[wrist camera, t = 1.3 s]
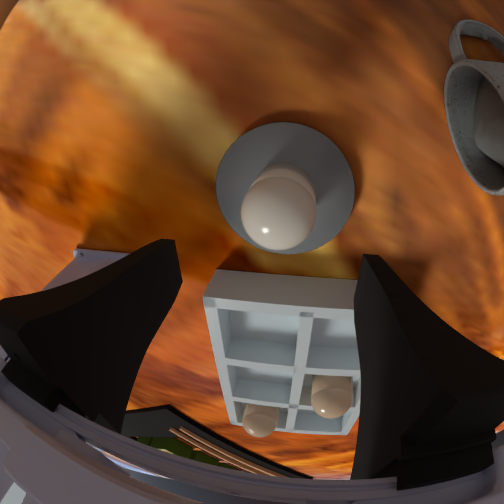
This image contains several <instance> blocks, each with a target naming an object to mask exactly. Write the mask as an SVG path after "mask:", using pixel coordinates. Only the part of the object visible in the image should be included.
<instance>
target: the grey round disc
mask: <svg viewBox="0 0 504 504" xmlns="http://www.w3.org/2000/svg"><path fill="white" fill-rule="evenodd" d="M276 163H290V164H294V165H296V166H298V167H300V168H302V169H303V170H304V171H306V172H307V173H308V175H309V176H310V177H311V179H312V181H313V183H314V186H315V191H316V219H315V224H314V227H313V229H312V231H311V233H310V234H309V236H308V237H307V238H306V239H305V240H304V241H303V242H302V243H300V244H299V245H297V246H295V247H293V248H290V249H287V250H270V249H267V248H264V247H262V246H260V245H258V244H257V243H255V242H254V241H253V240H252V239H251V238H250V237H249V235H248V234H247V233H246V231H245V229H244V227H243V224H242V220H241V205H242V201H243V199H244V196H245V194H246V193H247V191H248V190H249V188H250V187H251V185H252V184H253V182H254V181H255V179H256V178H257V176H258V175H259V173H260V172H261V171H262V170H263V169H265V168H266V167H268V166H270V165H272V164H276ZM216 194H217V200H218V204H219V207H220V209H221V212H222V214H223V216H224V218H225V219H226V221H227V223H228V224H229V225H230V227H231V228H232V229H233V230H234V231H235V232H236V233H237V234H238V235H239V236H240V237H241V238H243V239H244V240H245V241H247V242H248V243H250V244H252V245H254V246H256V247H258V248H260V249H263V250H265V251H269V252H273V253H279V254H298V253H304V252H308V251H311V250H314V249H316V248H319V247H321V246H323V245H324V244H326V243H327V242H329V241H330V240H331V239H333V238H334V237H335V236H336V235H337V234H338V233H339V232H340V231H341V229H342V228H343V227H344V225H345V224H346V222H347V220H348V218H349V216H350V214H351V211H352V208H353V203H354V197H355V187H354V179H353V175H352V171H351V169H350V166H349V164H348V162H347V160H346V158H345V157H344V155H343V153H342V152H341V150H340V149H339V148H338V146H337V145H336V144H335V143H334V142H333V141H332V140H331V139H330V138H329V137H327V136H326V135H324V134H323V133H322V132H320V131H318V130H316V129H314V128H312V127H310V126H307V125H304V124H300V123H295V122H273V123H268V124H264V125H261V126H258V127H256V128H254V129H252V130H250V131H248V132H247V133H245V134H244V135H242V136H241V137H239V138H238V139H237V140H236V141H235V142H234V143H233V144H232V145H231V146H230V147H229V149H228V150H227V151H226V153H225V155H224V156H223V158H222V160H221V163H220V165H219V168H218V172H217V177H216Z"/></svg>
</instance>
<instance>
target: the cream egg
mask: <svg viewBox="0 0 504 504" xmlns="http://www.w3.org/2000/svg"><path fill="white" fill-rule="evenodd" d="M315 219H316V191H315V186H314V183H313V181H312V179H311V177H310V176H309V175H308V173H307V172H306V171H304V170H303V169H302V168H300V167H298V166H296V165H294V164H290V163H276V164H272V165H270V166H268V167H266V168H265V169H263V170H262V171H261V172H260V173H259V175H258V176H257V178H256V179H255V181H254V182H253V184H252V185H251V187H250V188H249V190H248V191H247V193H246V194H245V196H244V199H243V201H242V205H241V220H242V224H243V227H244V229H245V231H246V233H247V234H248V235H249V237H250V238H251V239H252V240H253V241H254V242H255V243H257V244H258V245H260V246H262V247H264V248H267V249H270V250H287V249H290V248H293V247H295V246H297V245H299V244H300V243H302V242H303V241H304V240H305V239H306V238H307V237H308V236H309V234H310V233H311V231H312V229H313V227H314V224H315Z"/></svg>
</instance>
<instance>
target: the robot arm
mask: <svg viewBox="0 0 504 504" xmlns="http://www.w3.org/2000/svg"><path fill="white" fill-rule="evenodd" d="M73 254H74V257H75V259H74V260H73V261H72V262H71V263H70V264H68V265H67V266H66V267H65V268H64V269H63V270H62V271H61V272H60V273H59V274H58V275H57V276H56V277H55V278H54V279H53V280H52V281H50V282H49V283H48V284H47V285H46V286H45V287H44V288H43V290H42V291H40V292H36V293H32V294H27V295H22V296H16V297H9V298H4V299H2V300H0V502H1V500H2V499H3V498H4V496H5V494H6V493H7V491H8V490H9V488H10V487H11V486H12V484H13V482H15V483H16V484H17V485H18V486H19V487H20V488H22V489H23V490H24V491H25V492H26V496H25V498H24V500H23V502H22V504H204V503H201V502H197V501H194V500H191V499H188V498H184V497H181V496H178V495H175V494H172V493H169V492H167V491H164V490H161V489H159V488H156V487H153V486H151V485H148V484H146V483H143V482H141V481H138V480H136V479H134V478H131V477H129V476H130V473H129V472H128V471H126V470H124V469H123V468H121V467H120V466H118V465H116V464H115V463H114V462H112V461H111V460H109V459H108V458H107V457H105V456H104V455H103V454H102V453H101V452H100V451H98V450H96V449H95V448H93V447H91V446H90V445H88V444H86V442H88V443H90V444H92V445H94V446H95V447H97V448H99V449H101V450H103V451H105V452H107V453H109V454H111V455H114V456H116V457H118V458H120V459H122V460H124V461H127V462H129V463H131V464H134V465H136V466H139V467H141V468H144V469H146V470H149V471H151V472H154V473H157V474H159V475H162V476H165V477H168V478H171V479H174V480H177V481H180V482H183V483H187V484H190V485H194V486H197V487H201V488H205V489H210V490H213V491H217V492H221V493H226V494H231V495H236V496H241V497H247V498H253V499H259V500H267V501H275V502H284V503H296V504H504V445H502V446H499V447H498V448H496V449H494V450H492V445H491V442H493V441H494V440H495V439H496V433H495V428H496V427H497V426H498V425H500V424H501V423H502V422H503V421H504V360H502V359H500V358H498V357H496V356H494V355H492V354H491V353H489V352H487V351H486V350H484V349H482V348H481V347H479V346H477V345H476V344H474V343H473V342H471V341H470V340H468V339H467V338H465V337H464V336H463V335H461V334H460V333H459V332H457V331H456V330H455V329H453V328H452V327H451V326H449V325H448V324H447V323H446V322H444V321H443V320H442V319H441V318H440V317H439V316H437V315H436V314H435V313H434V312H433V311H432V310H431V309H430V308H428V307H427V306H426V305H425V304H424V303H423V302H422V301H421V300H420V299H419V298H418V297H417V296H416V295H415V294H414V293H413V292H412V291H411V290H410V289H409V288H408V286H407V285H406V284H405V283H404V282H403V281H402V280H401V279H400V278H399V277H398V276H397V274H396V273H395V272H394V271H393V270H392V269H391V268H390V267H389V265H388V264H387V263H386V262H385V261H384V260H383V259H382V258H381V257H380V256H379V255H369V254H363V256H362V261H361V266H360V271H359V276H358V281H357V285H356V289H355V294H354V324H355V332H356V339H357V347H358V355H359V363H360V374H361V395H360V414H359V427H358V435H357V444H356V451H355V457H354V463H353V468H352V474H351V478H350V480H317V479H300V478H288V477H278V476H270V475H262V474H256V473H250V472H244V471H238V470H233V469H228V468H223V467H219V466H215V465H210V464H206V463H202V462H198V461H195V460H191V459H188V458H184V457H181V456H177V455H174V454H171V453H168V452H165V451H162V450H159V449H156V448H153V447H151V446H148V445H145V444H142V443H140V442H137V441H135V440H132V439H130V438H127V437H125V436H123V435H121V430H122V425H123V421H124V416H125V412H126V407H127V404H128V401H129V397H130V394H131V390H132V387H133V384H134V381H135V379H136V376H137V373H138V370H139V368H140V365H141V363H142V360H143V358H144V355H145V353H146V351H147V349H148V347H149V345H150V343H151V341H152V339H153V337H154V336H155V334H156V332H157V331H158V329H159V327H160V325H161V324H162V322H163V320H164V319H165V317H166V315H167V314H168V312H169V310H170V308H171V307H172V305H173V303H174V301H175V299H176V297H177V294H178V292H179V289H180V287H181V284H182V282H183V281H182V276H181V271H180V266H179V261H178V256H177V251H176V246H175V240H170V239H160V240H157V241H155V242H152V243H150V244H148V245H146V246H144V247H142V248H140V249H138V250H136V251H134V252H133V253H121V252H110V251H99V250H89V249H78V248H76V249H74V250H73ZM85 441H86V442H85Z"/></svg>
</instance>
